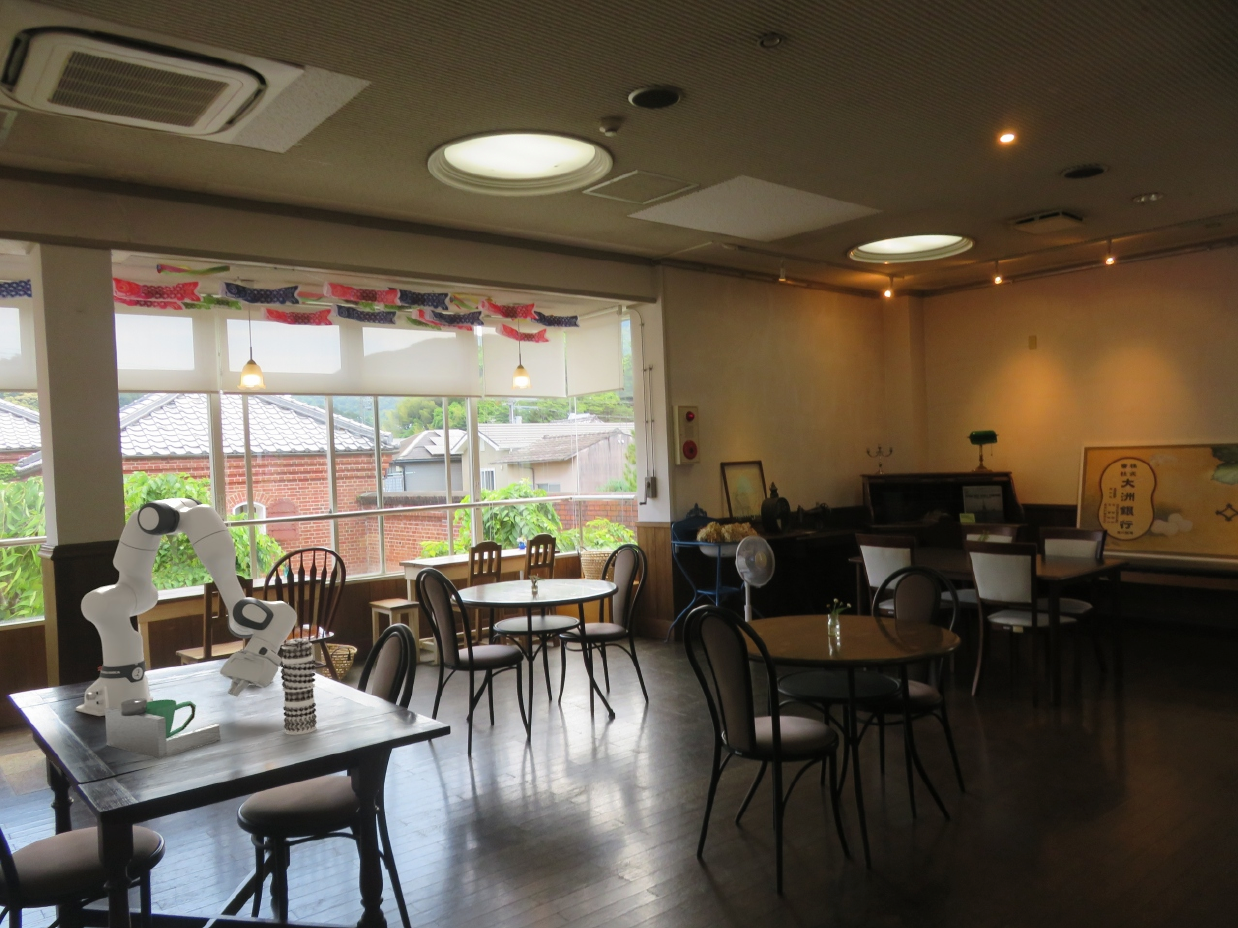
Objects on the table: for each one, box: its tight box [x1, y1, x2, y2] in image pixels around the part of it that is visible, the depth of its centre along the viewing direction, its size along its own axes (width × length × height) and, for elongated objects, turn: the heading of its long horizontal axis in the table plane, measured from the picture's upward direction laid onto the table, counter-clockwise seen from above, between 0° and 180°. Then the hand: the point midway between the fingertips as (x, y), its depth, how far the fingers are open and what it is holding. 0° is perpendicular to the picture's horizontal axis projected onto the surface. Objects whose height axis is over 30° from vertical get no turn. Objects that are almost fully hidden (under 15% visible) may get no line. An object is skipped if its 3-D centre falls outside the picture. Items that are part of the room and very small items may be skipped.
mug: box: [146, 699, 197, 739], centre depth 246 cm, size 15×10×10 cm
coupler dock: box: [104, 698, 221, 760], centre depth 243 cm, size 19×25×13 cm
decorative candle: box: [280, 637, 318, 736], centre depth 250 cm, size 9×9×25 cm
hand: (232, 694), depth 262 cm, fingers closed
